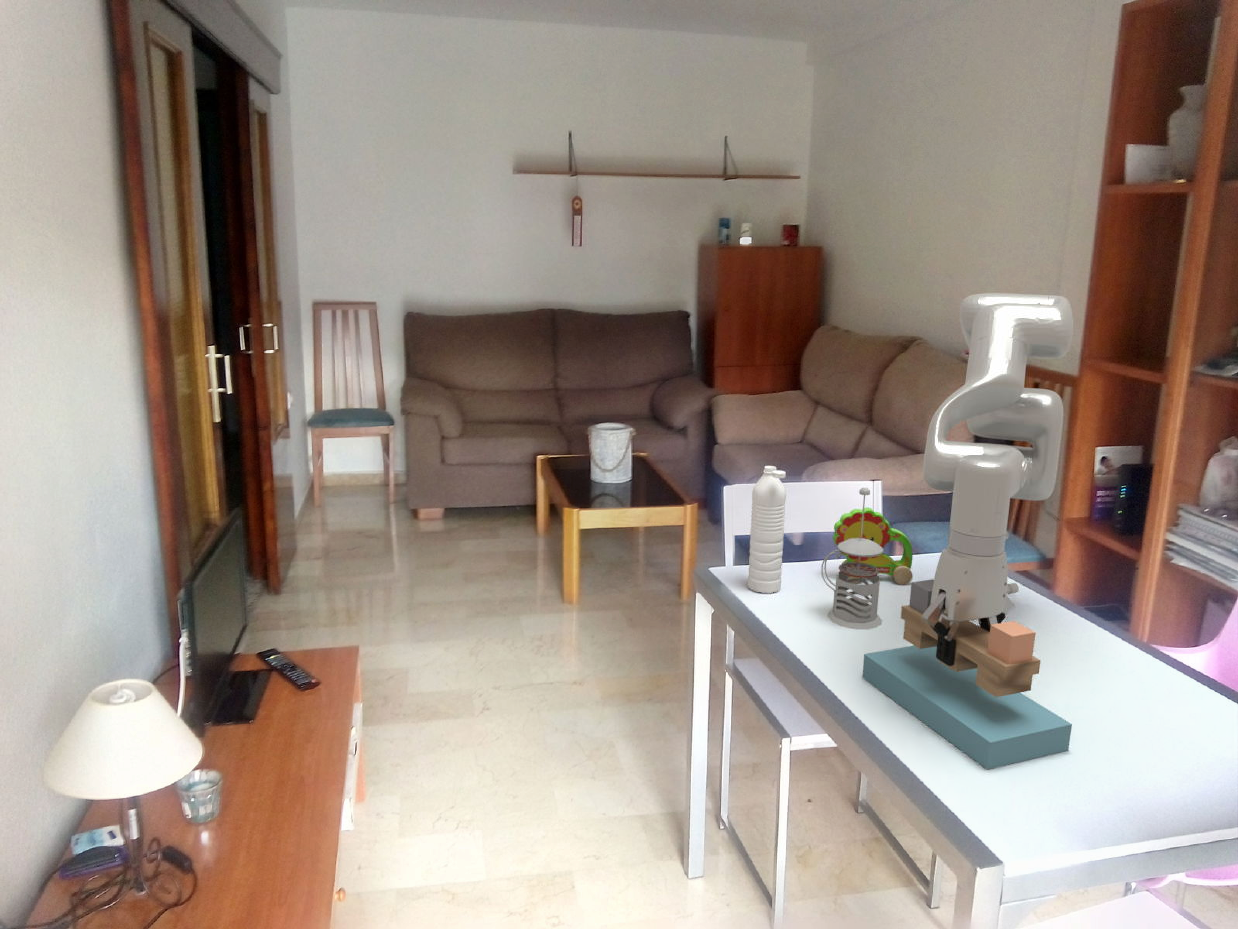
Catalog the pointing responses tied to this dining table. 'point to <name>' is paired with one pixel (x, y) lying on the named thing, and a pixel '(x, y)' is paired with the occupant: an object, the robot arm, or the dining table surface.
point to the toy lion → (880, 534)
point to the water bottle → (767, 532)
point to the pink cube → (1011, 642)
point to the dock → (966, 708)
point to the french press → (856, 609)
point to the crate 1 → (921, 595)
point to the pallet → (973, 655)
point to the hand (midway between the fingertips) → (963, 657)
